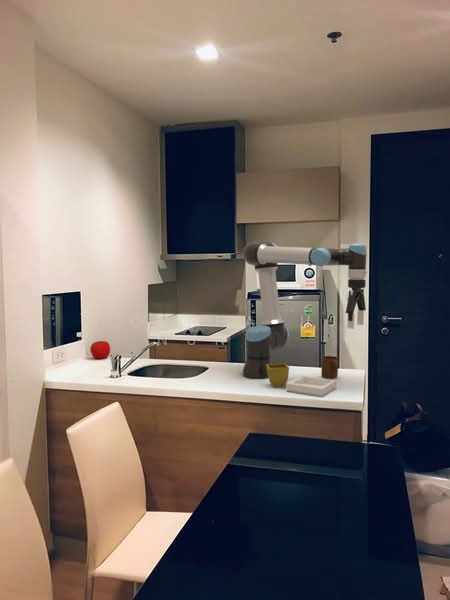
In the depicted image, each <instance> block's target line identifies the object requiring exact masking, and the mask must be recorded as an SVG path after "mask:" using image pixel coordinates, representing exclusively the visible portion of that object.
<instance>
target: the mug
mask: <svg viewBox="0 0 450 600" xmlns="http://www.w3.org/2000/svg"><path fill="white" fill-rule="evenodd" d="M338 372H339V360H338V357H337V356H333V355H325V356H322V357H321V377H322V379H328V378H329V380H334V379H337V378H338V376H339V375H338V374H339V373H338Z"/></svg>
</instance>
